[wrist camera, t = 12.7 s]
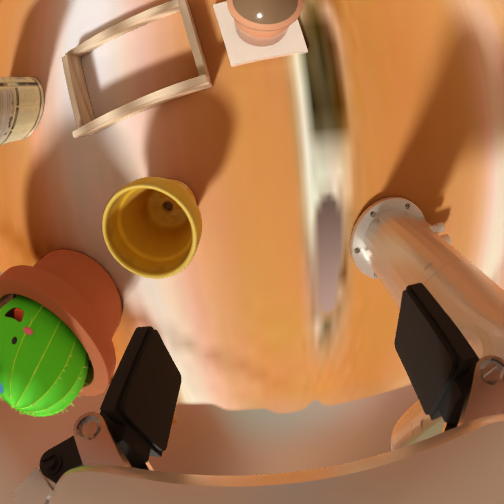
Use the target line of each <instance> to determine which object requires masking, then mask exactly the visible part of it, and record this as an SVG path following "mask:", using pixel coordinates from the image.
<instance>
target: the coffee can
mask: <svg viewBox="0 0 504 504" xmlns="http://www.w3.org/2000/svg"><path fill="white" fill-rule="evenodd" d="M43 108H44V93H43V88H42V85H41V83H40V82H39V81H38V80H37V79H36V78H34V77H0V145H2V144H6V143H9V142H13V141H17V140H22V139H25V138H27V137H28V136H30V135H31V134H32V133H33V132H34V130H35V129H36V127H37V126H38V124H39V122H40V119H41V116H42V113H43Z"/></svg>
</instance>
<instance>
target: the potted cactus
mask: <svg viewBox="0 0 504 504" xmlns="http://www.w3.org/2000/svg"><path fill="white" fill-rule="evenodd" d="M121 315H122V306H121V300H120V296H119V293H118V290H117V288H116V285H115V283H114V281H113V280H112V278H111V277H110V275H109V274H108V273H107V271H106V270H105V269H104V268H103V267H102V266H101V265H100V264H99V263H97V262H96V261H95V260H93V259H92V258H90V257H88V256H87V255H85V254H82V253H80V252H77V251H73V250H67V249H60V250H54V251H52V252H50V253H48V254H47V255H45V256H44V257H43V258H42V259H41V260H40V261H39V262H38V263H36V264H35V265H34V266H33V267H32V266H24V265H20V266H14V267H11V268H9V269H8V270H6V271H5V272H4V273H3V274H2V275H1V276H0V398H1V397H2V398H3V400H5V401H6V402H7V403H8V404H10V405H11V406H12V407H13V408H15V409H16V410H19V411H20V412H22V413H25V414H28V415H32V416H44V417H45V416H50V415H54V414H56V413H57V414H58V412H60V411H62V410H63V409H65V408H66V407H67V406H68V405H69V404H71V402H72V401H73V400H74V399H75V398H76V396H77V395H83V396H94V395H98V394H101V393H102V392H104V391H105V389H106V388H107V386H108V384H109V381H110V379H111V376H112V374H113V371H114V369H115V364H116V356H115V350H114V346H113V342H112V340H111V339H112V337H113V335H114V333H115V331H116V329H117V327H118V326H119V323H120V320H121ZM79 397H80V396H79ZM71 405H72V404H71Z"/></svg>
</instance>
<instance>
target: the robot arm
mask: <svg viewBox="0 0 504 504" xmlns="http://www.w3.org/2000/svg"><path fill="white" fill-rule="evenodd" d="M371 212H372V213H371ZM444 230H445V226H444V223H443V222H439V223H435V224H433V225H431V224H430V223H428V222H427V221H425V218H424V215H423V213H422V212H421V210H420V209H419V208H418V207H417V206H416V205H415V204H414V203H412V202H411V201H409V200H407V199H405V198H401V197H387V198H383V199H381V200H378V201H376V202H375V203H373V204H372V205H370V206H369V207H368V208H367V209H366V210H365V211H364V212H363V213H362V214H361V215H360V217H359V218H358V220H357V221H356V223H355V225H354V227H353V231H352V234H351V239H350V251H351V255H352V258H353V260H354V262H355V264H356V266H357V267H358V268H359V270H360V271H361V272H363V273H364V274H365V275H367V276H369V277H371V278H374V279H379V280H380V281H381V282H382V284H383V285H384V287H385V288H386V290H387V291H388V293H389V294H390V296H391V297H392V298H393V300H394V301H395V303H396V304H397V306H398V308H399V309H400V313H399V319H398V326H397V331H396V337H395V348H396V351H397V353H398V355H399V357H400V359H401V361H402V363H403V365H404V368H405V370H406V372H407V374H408V376H409V378H410V381H411V383H412V385H413V387H414V390H415V392H416V394H417V396H418V399H419V400H418V401H417V402H416V403H415V404H413V405H412V406H411V407H410V408H409V409H408V411H406V412H405V413H404V414H403V416H402V417H401V418H400V419H399V421H398V422H397V424H396V425H395V428H394V430H393V433H392V437H391V448H392V451H390V452H387V453H384V454H380V455H377V456H374V457H370V458H366V459H362V460H358V461H354V462H349V463H345V464H340V465H336V466H330V467H324V468H319V469H312V470H306V471H299V472H290V473H280V474H269V475H268V474H267V475H249V476H209V475H207V476H206V475H191V474H179V473H169V472H160V471H154V470H153V468H152V467H151V465H150V464H149V462H148V459H149V456H157V457H161V456H162V451H164V450H166V447H167V442H168V438H169V434H170V429H171V424H172V420H173V415H174V411H175V407H176V402H177V398H178V394H179V389H180V385H181V374H180V372H179V371H178V369H177V367H176V365H175V363H174V362H173V360H172V358H171V356H170V354H169V352H168V350H167V349H166V347H165V345H164V343H163V341H162V339H161V337H160V335H159V333H158V331H157V330H154V329H153V328H152V327H150V326H148V327H138V328H136V330H135V332H134V334H133V336H132V338H131V340H130V342H129V344H128V346H127V348H126V351H125V353H124V355H123V357H122V359H121V361H120V364H119V366H118V368H117V370H116V373H115V375H114V377H113V379H112V382H111V384H110V386H109V389H108V391H107V394H106V396H105V399H104V401H103V403H102V405H101V408H100V409H101V412H100V414H99V413H95V412H88V413H85V414H83V415H82V416H80V417H79V418H78V420H77V421H76V423H75V424H74V429H73V433H74V436H72V437H70V438H69V439H67V440H65V441H64V442H62V443H60V444H58V445H57V446H55V447H53V448H51V449H49V450H48V451H46V452H45V453H44V454H43V456H42V457H41V460H40V470H39V469H38V468H36V469H35V470H34V471H33V472H32V473H31V474H30V475H29V476H28V477H27V478H26V479H25V480H24V481H23V482H22V483H21V484H20V485H19V486H18V487H17V488H16V490H15V491H14V494H13V501H14V504H504V290H503V289H501V288H500V287H499V286H498V285H497V284H496V283H494V282H493V281H492V280H491V279H490V278H489V277H488V276H486V275H485V274H484V273H483V272H482V271H481V270H480V269H479V268H477V267H476V266H475V265H474V264H473V263H472V262H471V261H469V260H468V259H467V258H466V257H465V256H464V255H462V254H461V253H460V252H459V251H458V250H456V249H455V248H454V247H453V246H452V245H450V244H451V240H450V237H449V236H448V234H444V235H441V236H439V235H438V234H436V233H439V232H443V231H444Z"/></svg>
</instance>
